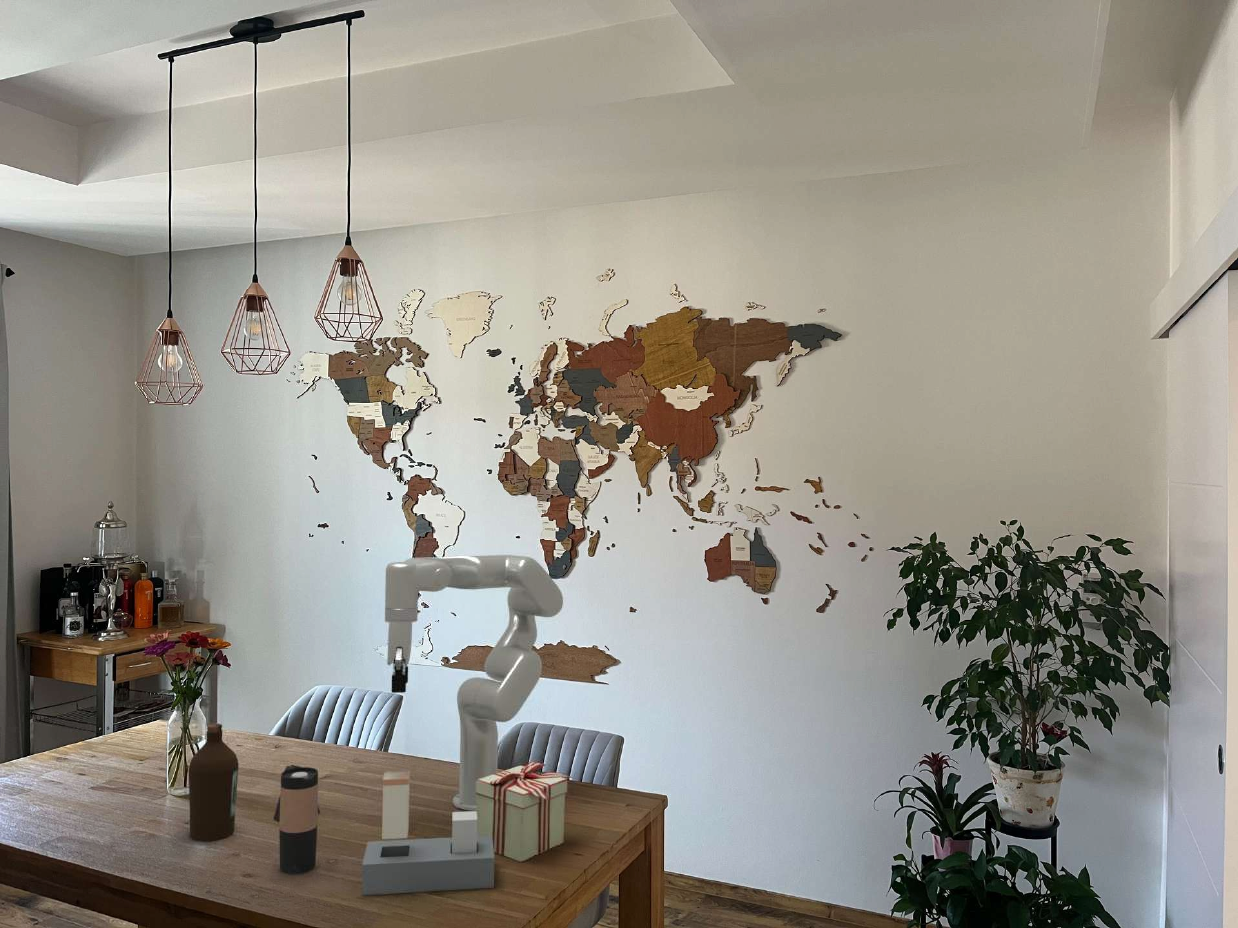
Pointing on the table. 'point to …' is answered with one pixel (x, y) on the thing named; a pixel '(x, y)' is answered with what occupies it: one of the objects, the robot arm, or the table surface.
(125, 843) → the table surface
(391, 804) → the cream plug
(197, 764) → the olive oil
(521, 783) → the gift box
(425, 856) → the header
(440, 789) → the table surface
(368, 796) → the table surface
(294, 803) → the travel mug
